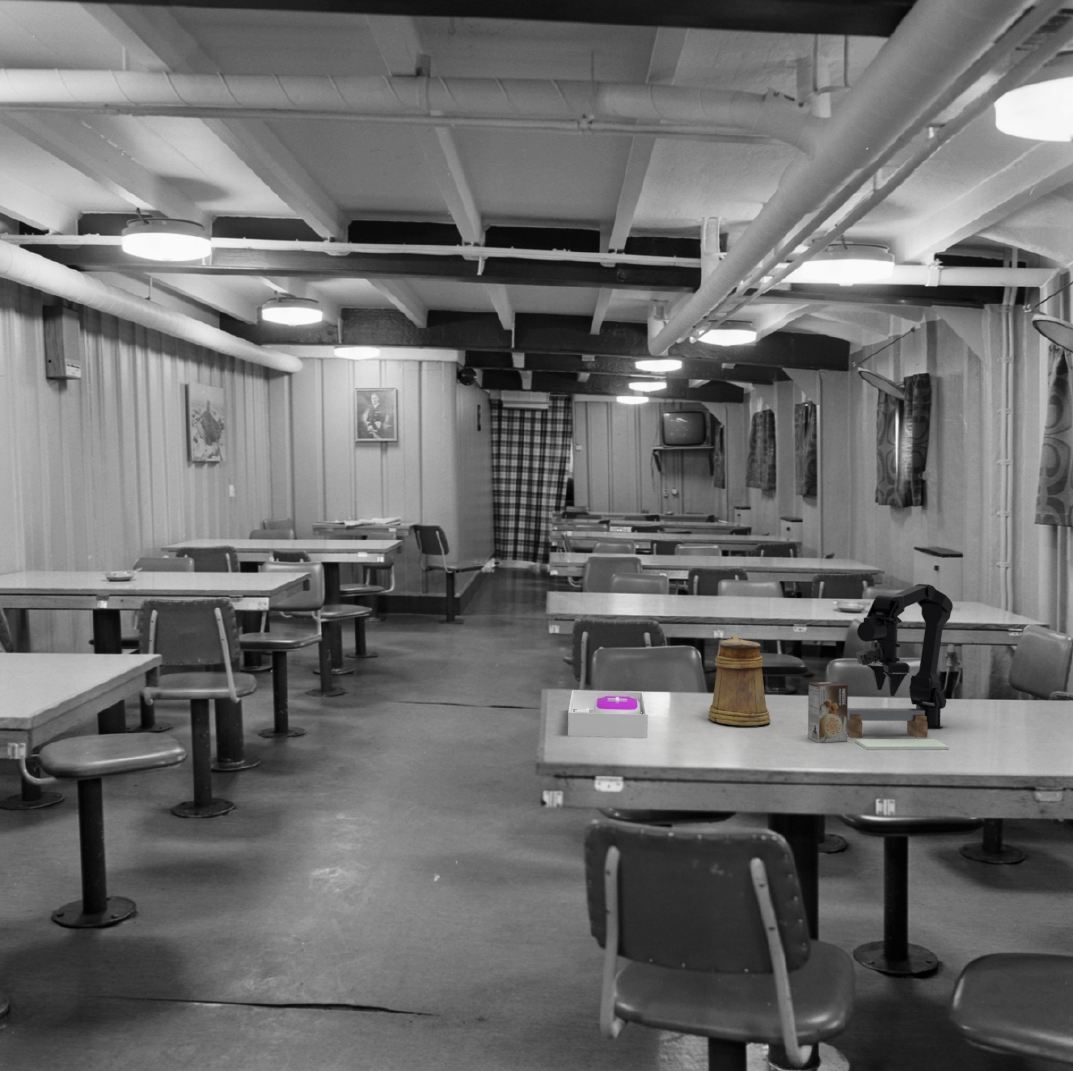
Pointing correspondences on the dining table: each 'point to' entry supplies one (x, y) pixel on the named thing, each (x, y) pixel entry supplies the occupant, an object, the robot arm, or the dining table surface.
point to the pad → (901, 744)
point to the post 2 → (918, 726)
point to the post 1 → (854, 727)
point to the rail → (885, 714)
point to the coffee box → (827, 711)
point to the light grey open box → (608, 714)
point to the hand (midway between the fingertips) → (885, 692)
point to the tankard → (739, 685)
